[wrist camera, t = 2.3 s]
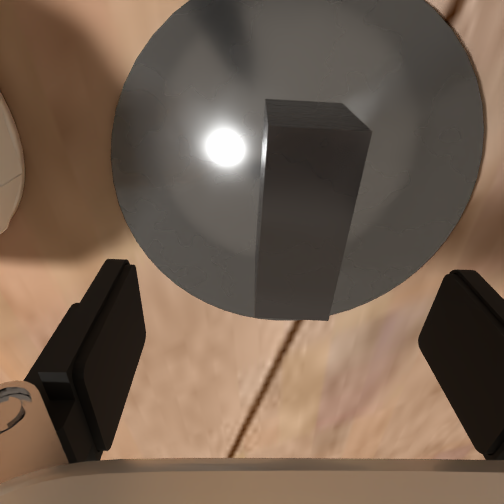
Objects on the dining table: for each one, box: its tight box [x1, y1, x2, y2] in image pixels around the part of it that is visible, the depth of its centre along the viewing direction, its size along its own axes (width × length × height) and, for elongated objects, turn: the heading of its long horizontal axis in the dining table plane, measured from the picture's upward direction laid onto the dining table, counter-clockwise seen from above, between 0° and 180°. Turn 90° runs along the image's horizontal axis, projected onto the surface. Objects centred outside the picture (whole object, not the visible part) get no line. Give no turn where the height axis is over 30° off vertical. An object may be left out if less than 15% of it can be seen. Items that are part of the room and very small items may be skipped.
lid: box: [111, 0, 484, 321], centre depth 15 cm, size 17×17×5 cm
